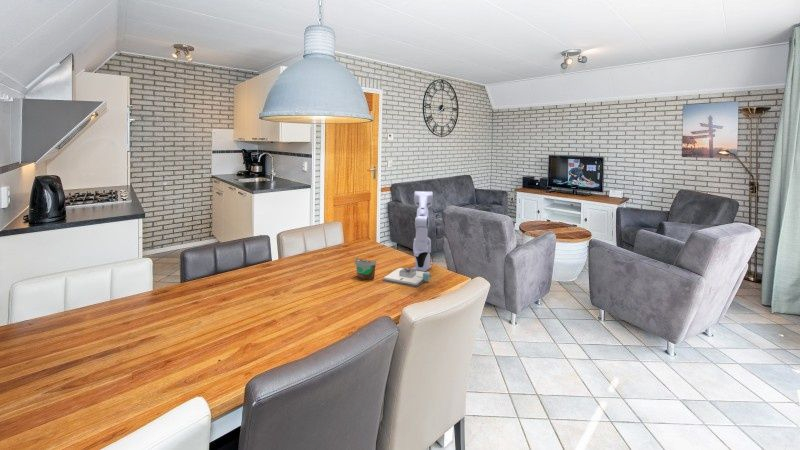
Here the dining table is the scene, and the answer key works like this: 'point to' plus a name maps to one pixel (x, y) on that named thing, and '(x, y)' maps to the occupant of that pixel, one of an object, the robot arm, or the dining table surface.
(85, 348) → the dining table surface
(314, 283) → the dining table surface
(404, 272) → the cover
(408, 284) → the susan base
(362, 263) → the food container
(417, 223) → the robot arm
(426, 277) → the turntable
